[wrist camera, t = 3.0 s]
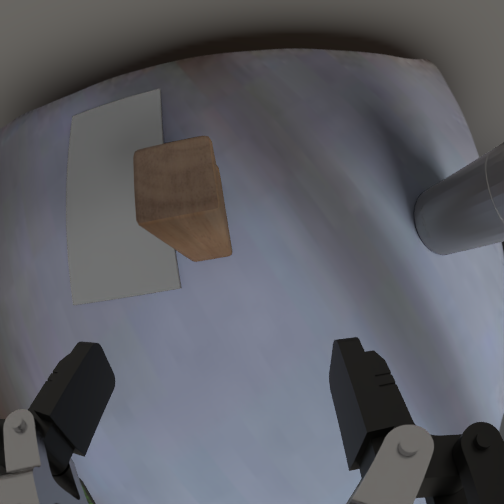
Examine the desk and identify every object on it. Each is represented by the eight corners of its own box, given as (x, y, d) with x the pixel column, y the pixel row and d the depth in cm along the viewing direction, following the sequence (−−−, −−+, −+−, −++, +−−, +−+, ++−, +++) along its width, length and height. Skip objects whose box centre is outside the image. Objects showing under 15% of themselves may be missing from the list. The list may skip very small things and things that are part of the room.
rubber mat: (160, 91, 35) (159, 88, 34) (181, 288, 31) (180, 288, 31) (74, 118, 34) (72, 116, 33) (75, 305, 30) (73, 305, 30)
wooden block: (182, 186, 33) (132, 89, 15) (220, 179, 33) (202, 74, 15) (192, 262, 32) (134, 225, 14) (233, 255, 32) (221, 209, 14)
